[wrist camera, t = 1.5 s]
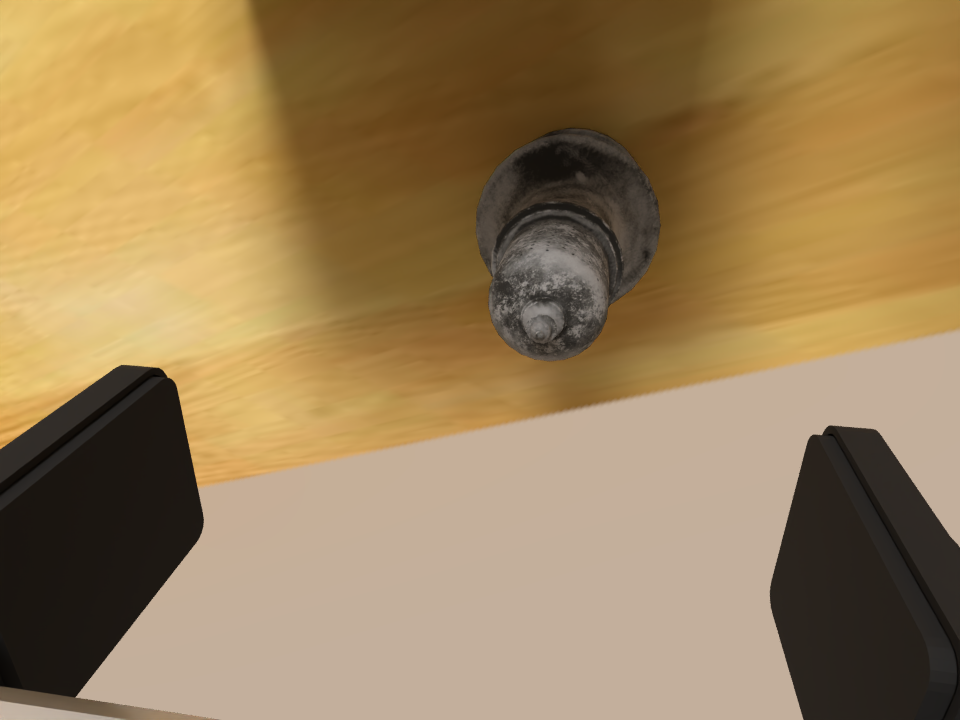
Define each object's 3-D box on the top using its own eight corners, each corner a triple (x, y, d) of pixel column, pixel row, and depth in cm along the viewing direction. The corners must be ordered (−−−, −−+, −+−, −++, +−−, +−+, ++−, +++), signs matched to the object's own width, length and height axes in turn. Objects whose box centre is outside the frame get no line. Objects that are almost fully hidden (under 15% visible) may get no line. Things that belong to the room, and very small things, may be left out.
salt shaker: (575, 309, 27) (548, 496, 16) (461, 208, 26) (354, 337, 15) (690, 198, 24) (746, 335, 14) (568, 81, 23) (528, 132, 13)
